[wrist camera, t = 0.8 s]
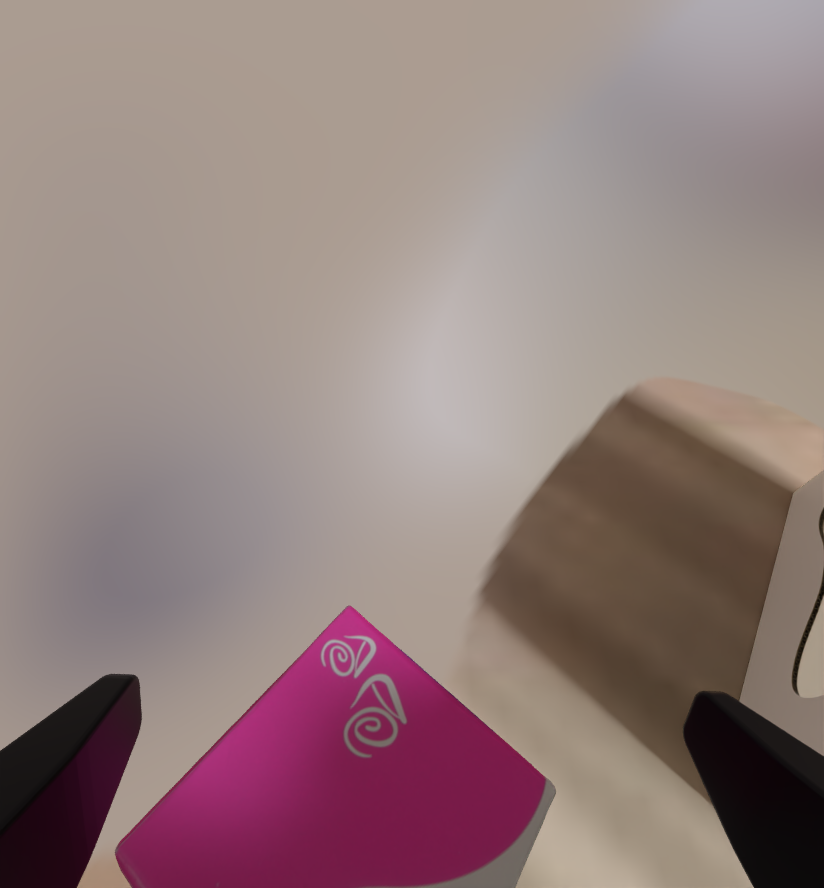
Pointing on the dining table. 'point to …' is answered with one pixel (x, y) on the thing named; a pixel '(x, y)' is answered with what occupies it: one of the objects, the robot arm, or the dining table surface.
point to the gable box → (793, 627)
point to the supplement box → (346, 786)
